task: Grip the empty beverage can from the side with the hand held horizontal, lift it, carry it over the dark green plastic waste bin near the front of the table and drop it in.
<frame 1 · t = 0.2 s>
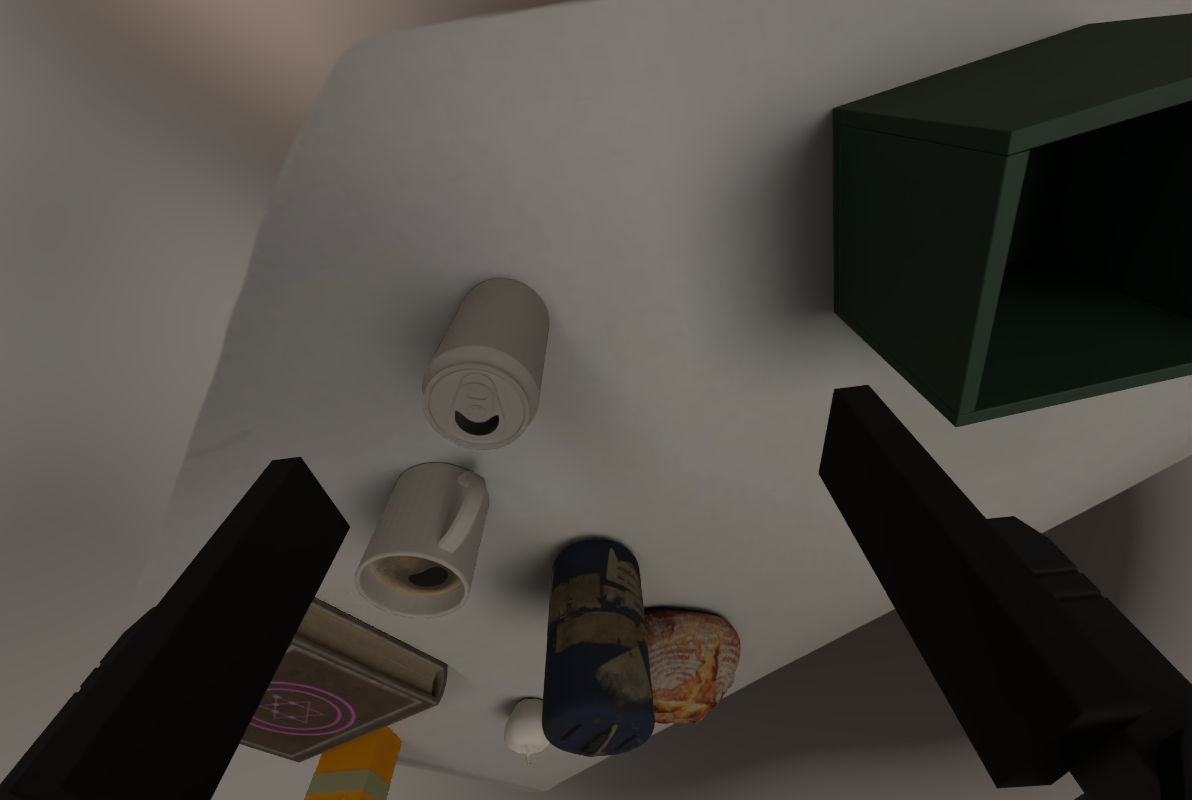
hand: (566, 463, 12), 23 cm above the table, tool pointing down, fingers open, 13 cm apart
plain white apple: (531, 701, 71), on the table
beverage can: (507, 314, 35), on the table
bread: (660, 637, 61), on the table
book: (313, 668, 64), on the table
waste bin: (941, 190, 30), on the table
orange juice: (368, 733, 77), on the table
canister: (595, 558, 52), on the table
mug: (452, 490, 45), on the table
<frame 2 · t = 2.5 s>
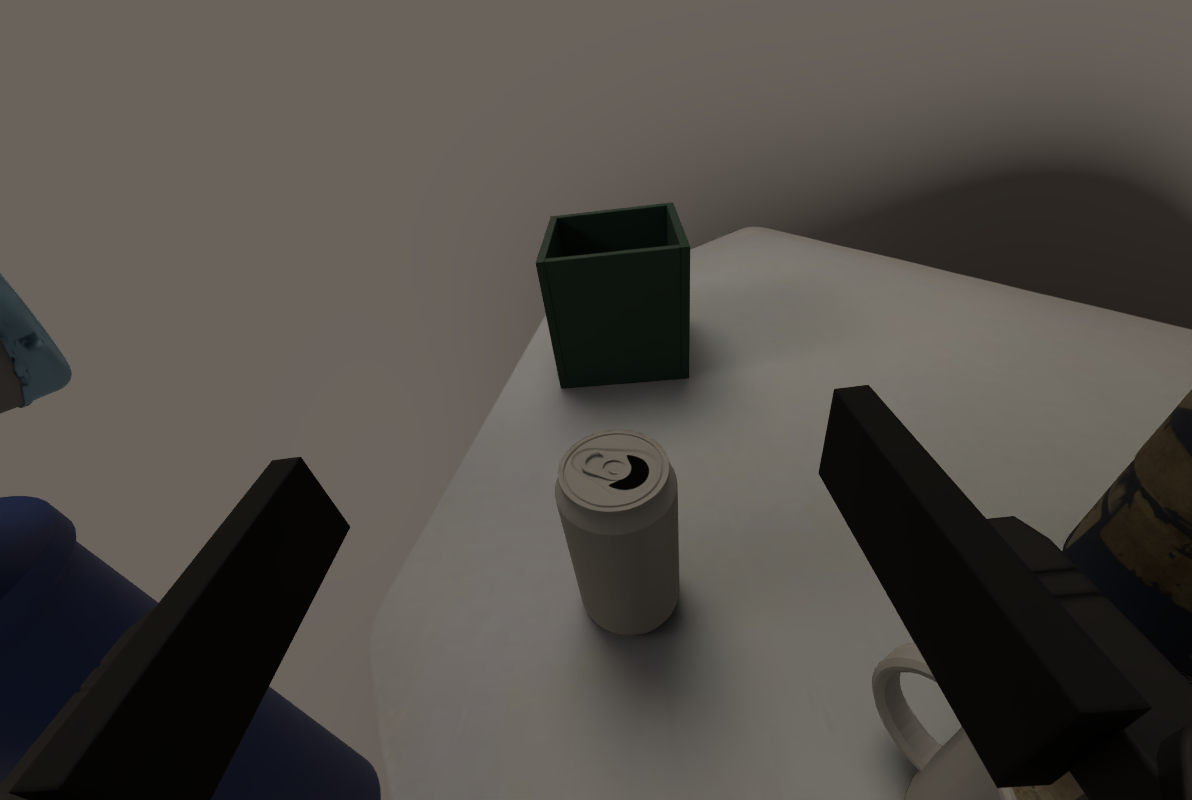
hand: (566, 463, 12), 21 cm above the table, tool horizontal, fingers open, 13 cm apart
beverage can: (630, 593, 31), on the table
waste bin: (622, 349, 55), on the table
canister: (1158, 608, 26), on the table
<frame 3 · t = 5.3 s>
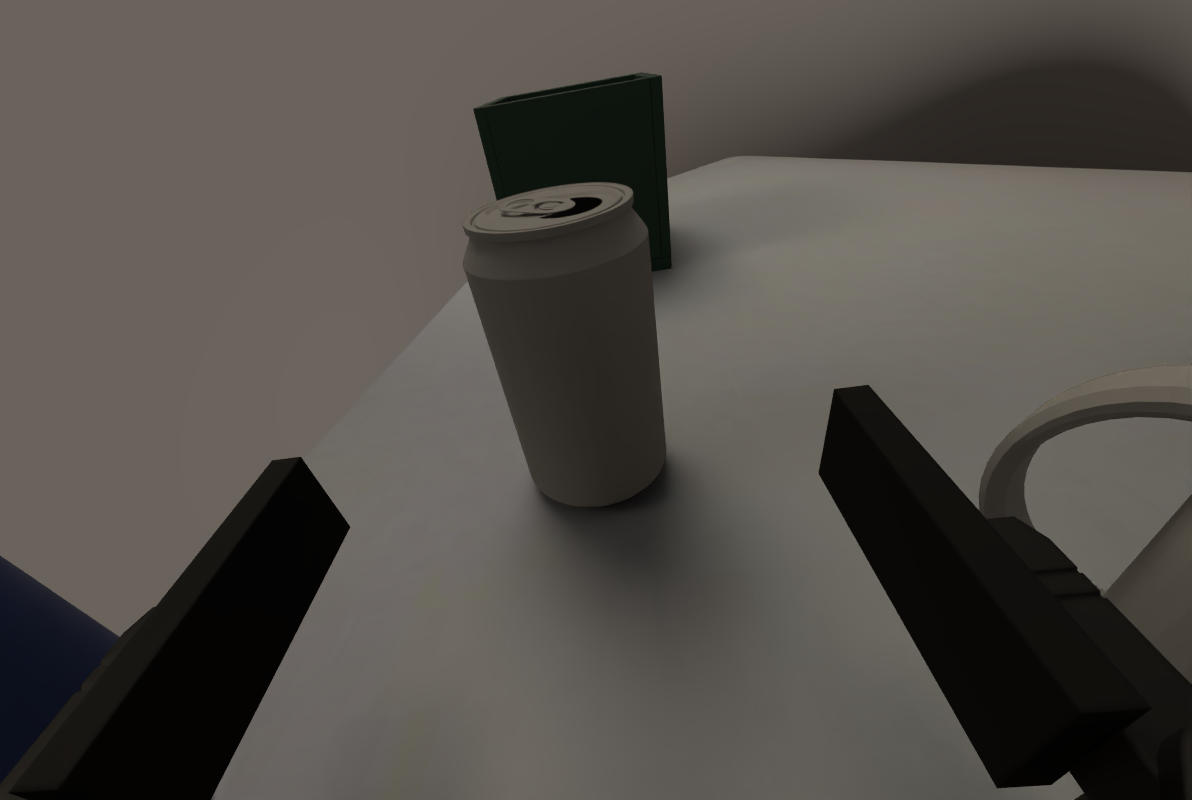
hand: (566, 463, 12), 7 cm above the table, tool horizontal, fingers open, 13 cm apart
beverage can: (599, 468, 22), on the table
waste bin: (593, 254, 47), on the table
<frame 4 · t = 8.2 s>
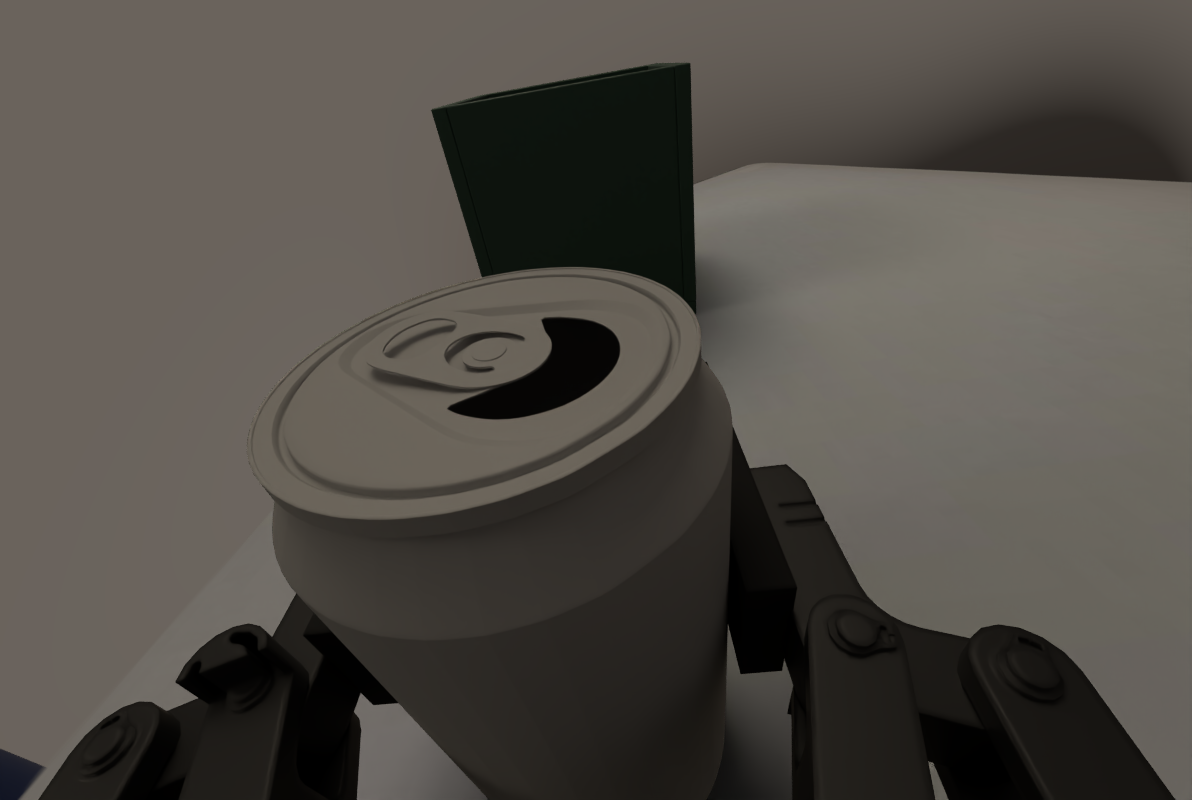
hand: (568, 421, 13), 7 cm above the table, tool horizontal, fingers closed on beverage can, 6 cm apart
beverage can: (606, 718, 13), on the table, touching gripper
waste bin: (595, 289, 38), on the table
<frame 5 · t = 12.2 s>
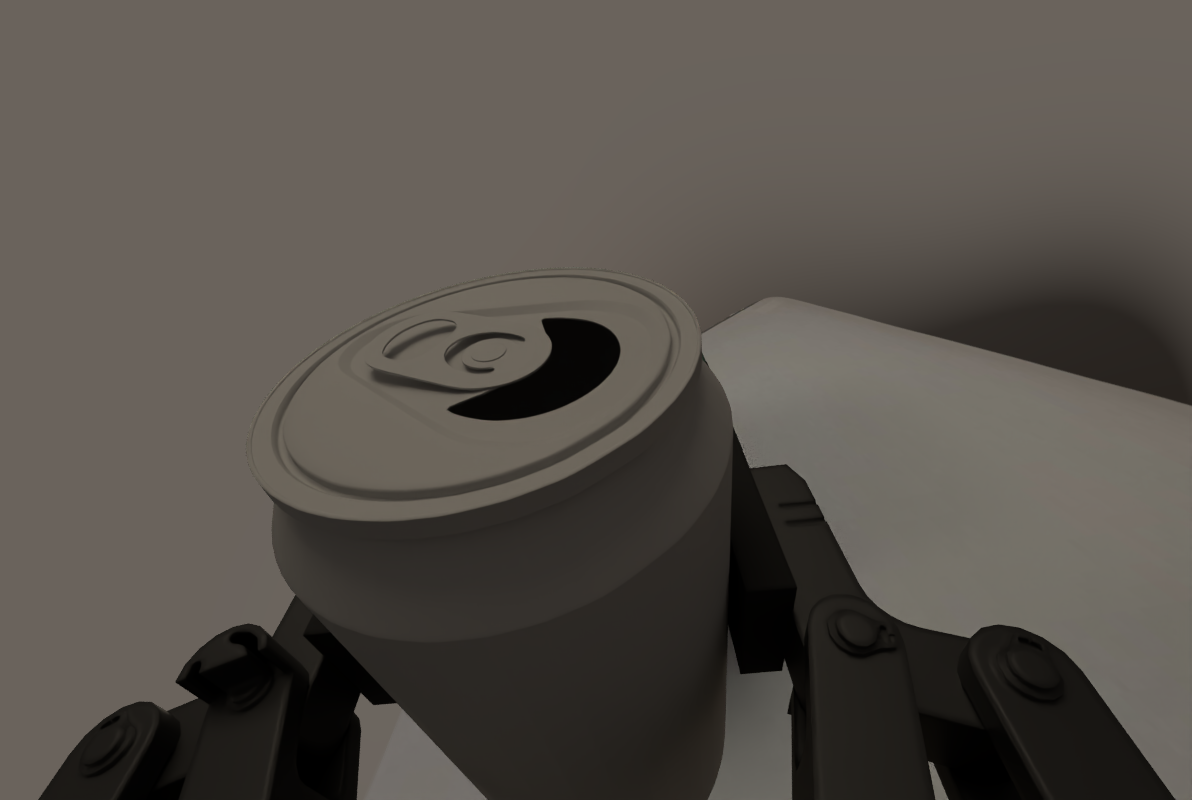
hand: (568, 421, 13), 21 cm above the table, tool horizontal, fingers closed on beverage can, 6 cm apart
beverage can: (606, 719, 13), point 15 cm above the table, touching gripper
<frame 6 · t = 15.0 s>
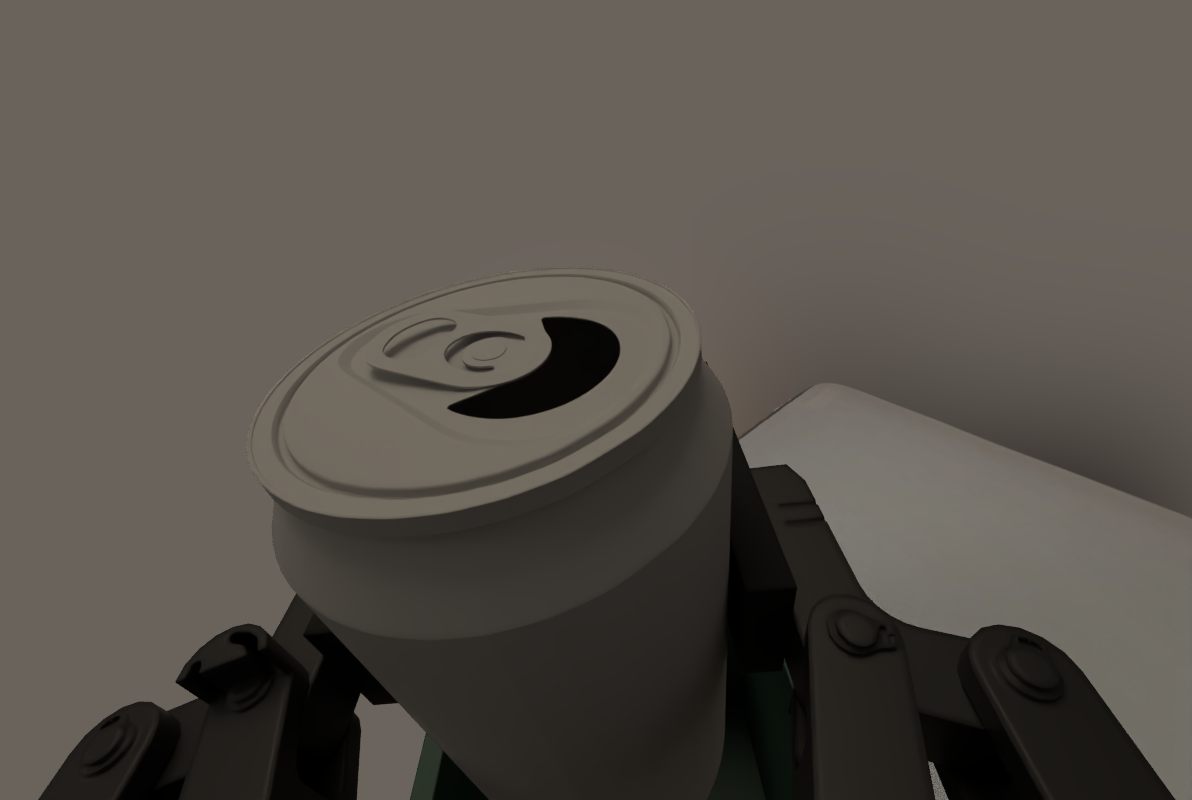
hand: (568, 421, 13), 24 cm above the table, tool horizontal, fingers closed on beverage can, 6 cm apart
beverage can: (606, 718, 13), point 17 cm above the table, touching gripper
when the fingers open (20 cm above the table, at t = 16.5 s): beverage can drops 12 cm, resting on waste bin.
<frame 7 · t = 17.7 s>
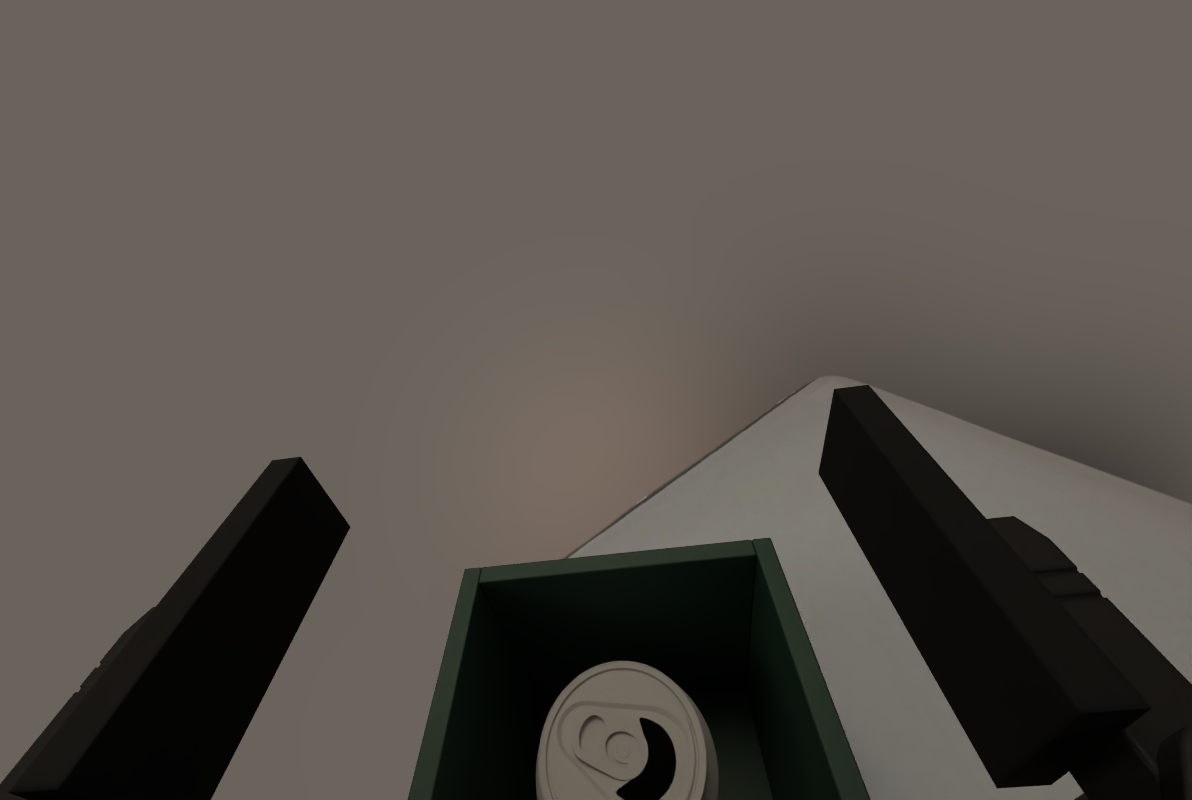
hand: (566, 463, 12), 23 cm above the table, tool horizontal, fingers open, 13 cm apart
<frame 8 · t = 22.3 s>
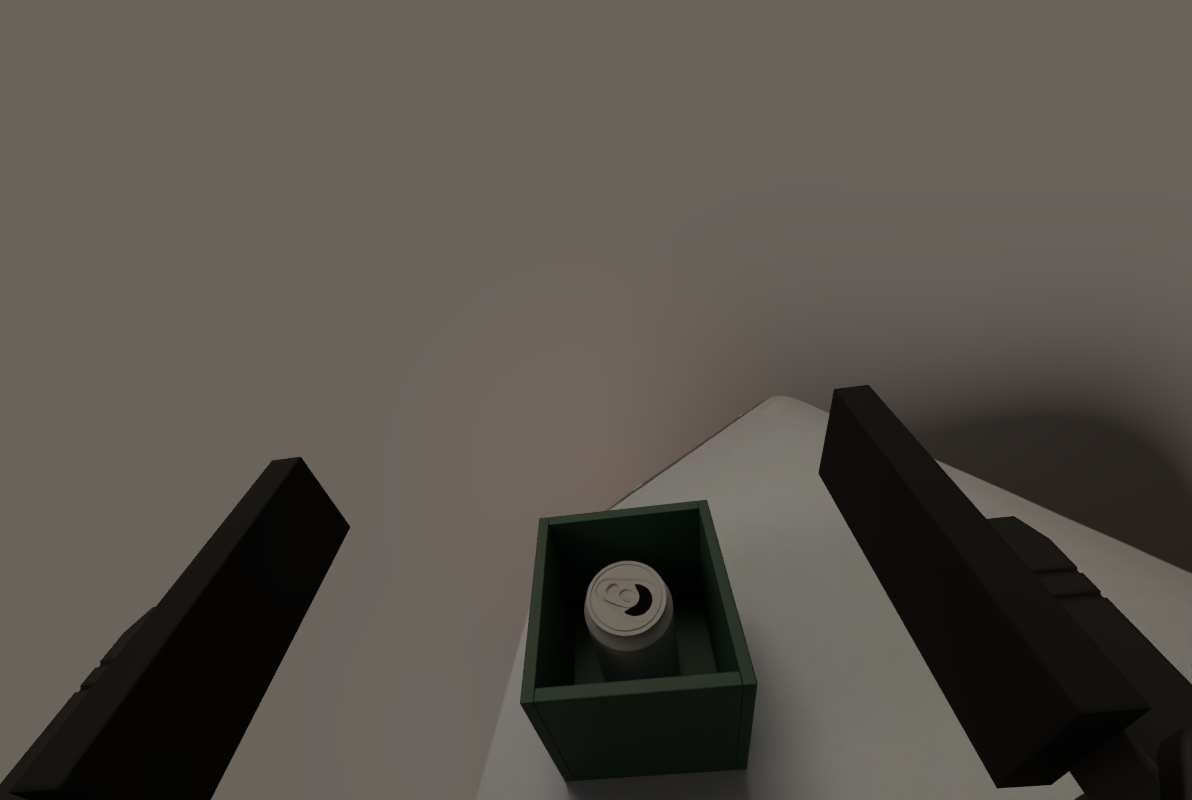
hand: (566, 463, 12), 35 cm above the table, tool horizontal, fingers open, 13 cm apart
beverage can: (641, 674, 40), point 1 cm above the table, touching waste bin
waste bin: (645, 677, 40), on the table
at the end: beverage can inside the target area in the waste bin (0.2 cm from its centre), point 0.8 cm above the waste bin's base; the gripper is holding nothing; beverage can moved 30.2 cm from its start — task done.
